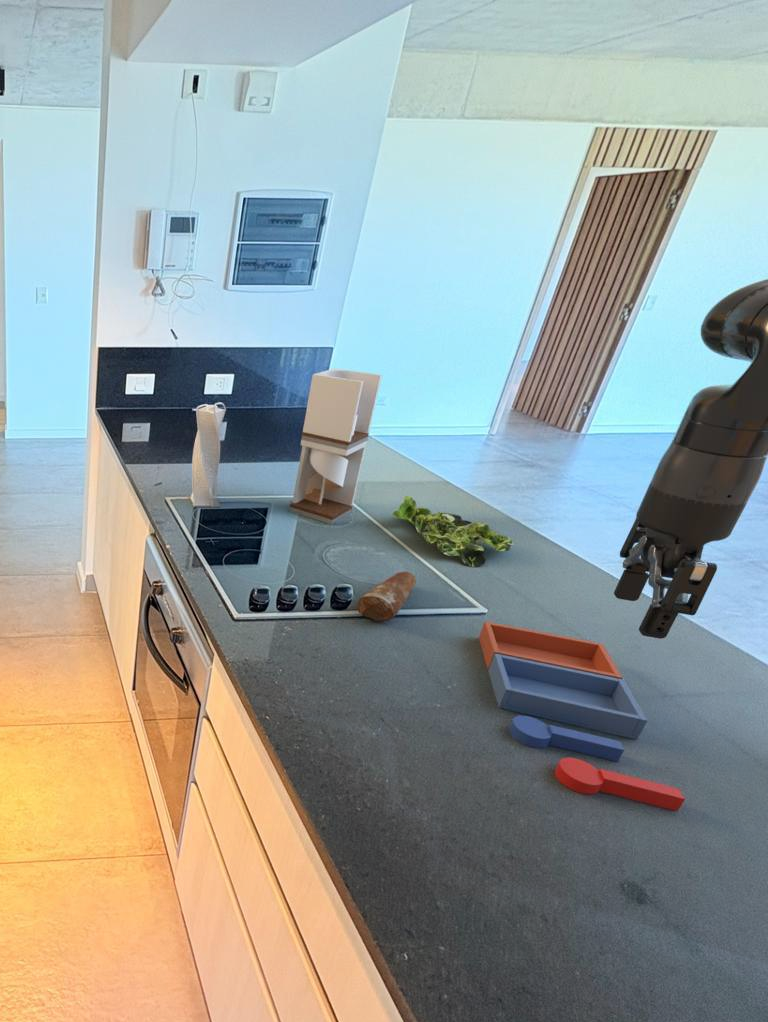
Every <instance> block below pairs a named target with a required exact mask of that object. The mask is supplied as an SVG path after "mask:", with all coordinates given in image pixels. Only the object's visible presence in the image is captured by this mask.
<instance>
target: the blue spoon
mask: <svg viewBox="0 0 768 1022" xmlns="http://www.w3.org/2000/svg"><path fill="white" fill-rule="evenodd" d="M508 732H509V734H510V736H511V737H513V738H514V739H515V740H516V741H517V742H518V743H521V744H522V745H525V746H528V747H531V748H537V749H541V748H546V747H547V746H552V747H556V748H560V749H564V750H569V751H573V752H577V753H580V754H585V755H589V756H593V757H596V758H602V759H606V760H608V761H613V762H619V760H620V759H621V757H622V755H623V753H624V751H625V748H624V746H623V745H622V743H621V741H620V740H616V739H611V738H607V737H604V736H599V735H595V734H591V733H587V732H582V731H577V730H574V729H570V728H565V727H560V726H556V725H552V724H549V725H548V724H546V723H545V722H543V721H541V720H539V719H537V718H535V717H534V716H530V715H517V716H514V717H513V718H512V721H511V723H510V725H509V727H508Z"/></svg>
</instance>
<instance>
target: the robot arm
mask: <svg viewBox="0 0 768 1022" xmlns="http://www.w3.org/2000/svg"><path fill="white" fill-rule="evenodd" d="M700 339H701V340H702V342H703V344H704V345H705V347H706V348H708V349H709V350H710V351H712V352H713V353H714V354H717V355H719V356H722V357H725V358H729V359H733V360H739V361H744V362H749V363H750V364H749V365H748V367H747V368H746V369H745V371H744V372H743V373H742V374H741V375H740V376H739V377H738V378H737V380H735V381H734V383H733V384H716V385H710V386H706V387H703V388H701V389H700V390H699V391H698V392H696V393H695V394H694V395H693V396H692V397H691V399H690V401H689V403H688V405H687V407H686V409H685V412H684V414H683V416H682V418H681V420H680V423H679V424H678V427H677V429H676V431H675V434H674V435H673V438H672V440H671V442H670V444H669V446H668V447H667V449H666V450H665V452H664V453H663V455H662V456H661V458H660V461H659V462H658V465H657V467H656V468H655V471H654V473H653V476H652V478H651V480H650V482H649V484H648V487H647V489H646V492H645V494H644V496H643V498H642V500H641V502H640V505H639V507H638V509H637V512H636V514H635V517H636V518H635V519H634V522H633V524H632V526H631V528H630V530H629V532H628V535H627V536H626V539H625V541H624V543H623V545H622V547H621V549H620V551H619V557H620V558H622V559H624V560H623V562H622V568H623V572H622V574H621V576H620V578H619V581H618V583H617V585H616V586H615V589H614V592H613V595H614V596H615V597H616V599H618V600H624V601H630V602H636V601H638V600H639V599H640V597H641V595H642V592H643V590H644V588H645V586H646V584H647V583H648V585H649V587H651V588H652V598H651V599H652V600H651V603H650V605H649V607H648V609H647V610H646V613H645V615H644V617H643V619H642V621H641V623H640V625H639V627H638V632H639V633H640V634H641V635H642V636H644V637H649V638H654V639H665V638H666V637H667V636H668V634H669V632H670V630H671V628H672V626H673V624H674V623H675V621H676V618H677V617H678V615H679V614H681V615H686V616H692V617H693V616H695V615H696V614H697V613H698V610H699V608H700V606H701V604H702V602H703V600H704V598H705V595H706V593H707V591H708V589H709V587H710V585H711V583H712V581H713V580H714V577H715V575H716V573H717V570H718V564H717V563H715V562H707V561H702V555H703V550H704V546H705V545H706V544H709V543H712V542H717V541H724V540H726V539H727V538H729V537H730V536H731V534H732V532H733V531H734V528H735V526H736V525H737V523H738V521H739V519H740V518H741V516H742V513H743V512H744V509H745V508H746V506H747V504H748V502H749V500H750V498H751V496H752V494H753V492H754V490H755V489H756V487H757V485H758V483H759V482H760V479H761V477H762V474H763V471H764V467H765V465H766V461H767V459H768V278H766V279H762V280H760V281H756V282H753V283H751V284H747V285H745V286H742V287H740V288H738V289H737V290H734V291H732V292H731V293H729V294H728V295H726V296H724V297H723V298H722V299H720V300H719V301H718V302H716V304H714V305H713V306H712V307H711V308H710V309H709V311H708V312H707V314H706V315H705V316H704V318H703V320H702V323H701V326H700ZM666 578H667V579H666Z"/></svg>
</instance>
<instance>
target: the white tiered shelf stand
mask: <svg viewBox="0 0 768 1022" xmlns="http://www.w3.org/2000/svg"><path fill="white" fill-rule="evenodd" d="M382 377H383V375H382V374H379V373H378V374H377V373H373V372H364V371H357V370H349V369H343V368H334V367H333V368H331V369H327V370H323V371H320V372H317V373H314V374H312V376H311V382H310V388H309V394H308V400H307V405H306V413H305V417H304V422H303V428H302V434H301V439H300V446H301V452H300V458H299V463H298V469H297V474H296V480H295V485H294V492H293V496H292V502H291V503H289V509H288V512H291V513H293V514H296V515H301V516H304V517H307V518H310V519H313V520H317V521H319V522H323V523H325V524H329V525H333V524H335V523H336V522H338V521H339V520H341V519H343V518H344V517H346V516H348V515H350V514H351V513H352V511H353V505H354V502H355V497H356V492H357V487H358V484H359V478H360V475H361V470H362V465H363V462H364V461H363V460H364V457H365V452H366V449H367V443H368V439H369V436H370V430H371V427H372V426H371V425H372V421H373V417H374V413H375V409H376V408H375V407H376V403H377V400H378V394H379V390H380V385H381V381H382Z"/></svg>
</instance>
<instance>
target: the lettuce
mask: <svg viewBox="0 0 768 1022" xmlns="http://www.w3.org/2000/svg"><path fill="white" fill-rule="evenodd" d="M392 515H393V516H394V517H395V518H397V519H400V520H404V521H406V522H410V523H411V524H412V525H414V526H415V529H416V532H417V533H418V534H420V535H421V536H422V537H423V538H424V541H426V542H427V543H428V544H435V542H437V544H436V546H437V550H439V552H440V553H442V554H444V555H446V556H448V557H456V556H458V557H459V559H460V560H461V562H462V564H463V565H465V566H469V567H471V568H478V567H479V568H480V567H482V566H483V565H485V564H486V557H485V556H484V553H485V552H484V551H485V549H484V547H483V546H482V545H479V543H483V544H485V545H486V546H489V547H491V548H493V549H494V550H495V551H498V552H504V551H507V552H508V551H510V550H511V546H513V545H515V542H514V541H513V540H512V539H511V537H509V536H508V535H503V534H502V533H500V532H497V531H493V530H492V529H491V528H490V525H489V524H488V523H485V522H480V521H477V522H472V521H470V520H464V519H463V518H462V516H461V515H458V514H454V513H448V512H443V511H441V510H440V511H439V512H437V513H436V514H435V513H433V512H432V511H431V510H430V509H429V508H426V507H417V502H416V500H415V499H413V498H412V497H411V496H409V495H405V496H404V497H403V502H402V503H401V504H400V505H399V508H398V509H396V510H395V511H393V513H392ZM468 525H469V526H468Z"/></svg>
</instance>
